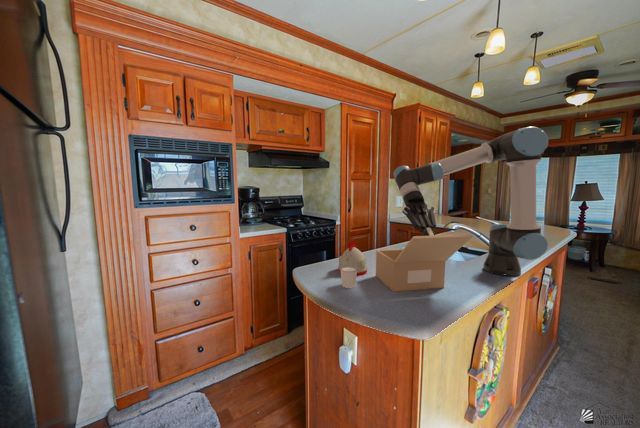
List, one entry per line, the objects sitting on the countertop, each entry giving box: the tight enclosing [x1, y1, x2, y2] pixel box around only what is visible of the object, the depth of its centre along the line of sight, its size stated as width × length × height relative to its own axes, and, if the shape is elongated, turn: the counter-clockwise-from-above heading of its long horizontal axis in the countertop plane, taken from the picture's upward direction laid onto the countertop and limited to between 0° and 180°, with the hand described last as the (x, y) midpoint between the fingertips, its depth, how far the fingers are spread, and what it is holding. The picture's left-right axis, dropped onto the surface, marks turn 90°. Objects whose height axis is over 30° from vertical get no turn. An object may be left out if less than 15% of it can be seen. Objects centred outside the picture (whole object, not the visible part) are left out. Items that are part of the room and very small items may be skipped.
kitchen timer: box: [337, 240, 368, 277], centre depth 127 cm, size 14×14×15 cm
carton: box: [375, 248, 446, 293], centre depth 113 cm, size 18×22×12 cm
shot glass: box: [340, 267, 358, 289], centre depth 109 cm, size 7×7×7 cm
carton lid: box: [394, 233, 474, 263], centre depth 96 cm, size 18×22×1 cm
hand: (433, 244), depth 95 cm, fingers closed
